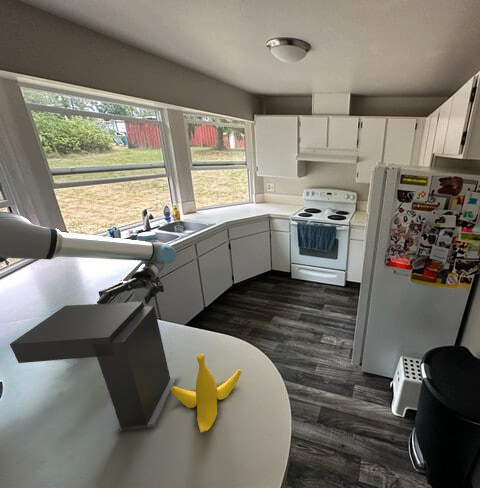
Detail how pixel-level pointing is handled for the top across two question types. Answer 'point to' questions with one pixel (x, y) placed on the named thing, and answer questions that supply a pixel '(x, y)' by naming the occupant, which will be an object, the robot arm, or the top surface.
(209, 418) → the banana peel
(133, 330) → the coffee maker
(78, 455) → the top surface
